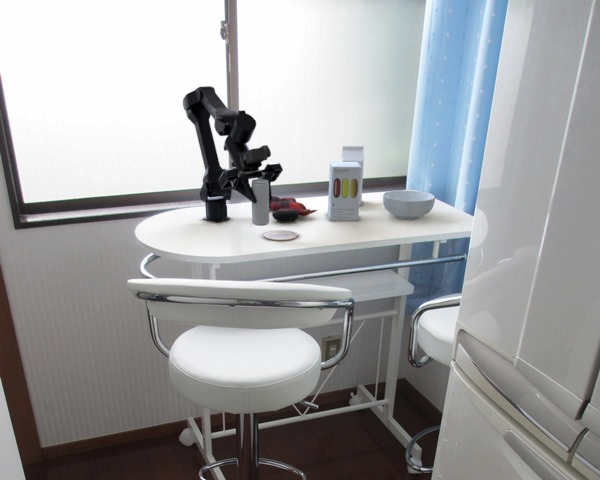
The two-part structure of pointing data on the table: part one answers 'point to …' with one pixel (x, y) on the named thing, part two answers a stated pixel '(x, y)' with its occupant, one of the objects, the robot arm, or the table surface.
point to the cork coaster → (280, 235)
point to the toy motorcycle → (287, 209)
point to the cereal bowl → (408, 203)
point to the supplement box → (344, 191)
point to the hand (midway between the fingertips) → (263, 201)
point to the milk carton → (354, 160)
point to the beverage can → (260, 202)
